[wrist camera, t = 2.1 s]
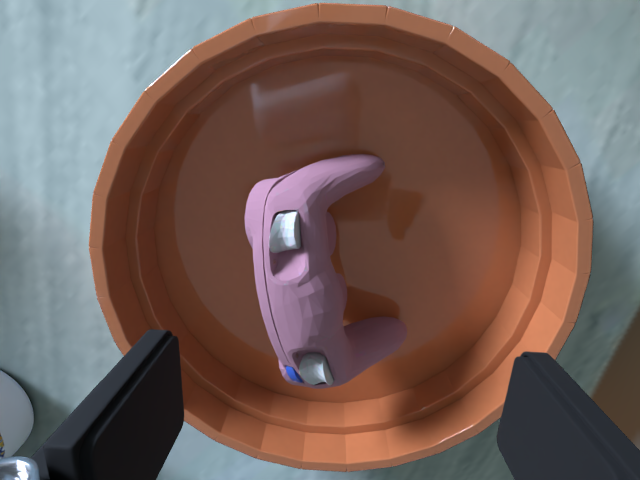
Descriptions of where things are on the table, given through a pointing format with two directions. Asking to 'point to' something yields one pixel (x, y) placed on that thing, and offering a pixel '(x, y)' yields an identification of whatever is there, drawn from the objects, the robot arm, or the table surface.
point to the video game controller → (312, 274)
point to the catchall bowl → (346, 228)
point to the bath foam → (13, 416)
